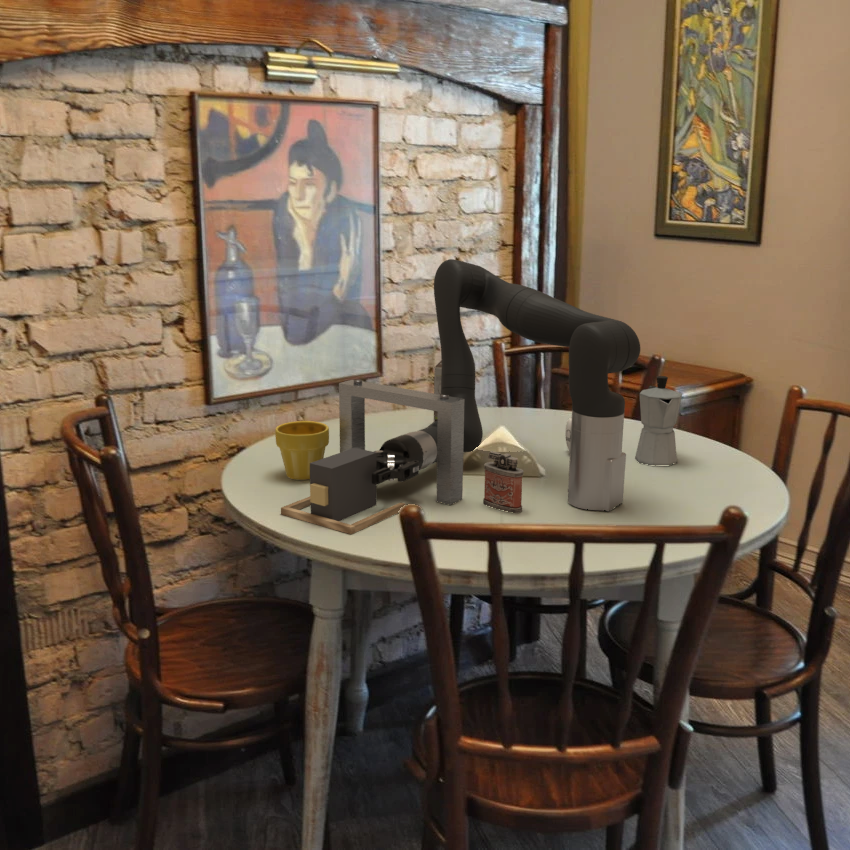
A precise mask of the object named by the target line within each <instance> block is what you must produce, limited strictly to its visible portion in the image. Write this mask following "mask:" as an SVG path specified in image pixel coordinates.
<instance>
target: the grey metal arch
mask: <svg viewBox="0 0 850 850" xmlns="http://www.w3.org/2000/svg"><path fill="white" fill-rule="evenodd" d="M365 399H368V400H373V401H379V402H385V403H388V404H390V403H391V404H394V405H401V406H406V407H409V408H410V407H412V408H416V409H422V410H428V411H431V412H432V411H433V412H434V411H437V412H438V428H437V462H436V502H437V501H438V502H437V503H439V502H442V503H441V504H443V503H445V504H444V505H447V504H449V505H448V506H452V505H453V503H454V504H456V503H458V502H460V501H462V500H463V491H464V490H463V486H464V485H463V483H464V482H463V480H464V479H463V478H464V452H463V444H464V399H462V398H456V397H450V396H449V395H447V394H441V395H439V394H434V392H433V393H432V392H426V391H421V390H414V389H409V388H403V387H398V386H392V385H391V386H390V385H386V384H380V383H375V382H368V381H363V379H349V380H345V381H343V382H339V383H338V402H339V403H338V406H339V407H338V409H339V413H338V414H339V415H338V416H339V418H338V419H339V453H341V452H344V451H347V450H349V449H352V448H359V449H365V450H366V427H365V426H366V423H365V422H366V419H365V418H366V411H365V409H366V408H365V407H366V401H365ZM459 500H460V501H459ZM455 502H456V503H455ZM451 504H452V505H451Z"/></svg>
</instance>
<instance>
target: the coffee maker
mask: <svg viewBox="0 0 850 850" xmlns="http://www.w3.org/2000/svg"><path fill="white" fill-rule="evenodd" d="M668 378H669V377H668V376H664V375H657V376H656V386H655V385H649V386H648V388H647V389H642V390H641V391H640V392H639V406H640V421H641V424H642V425H643V426H642V428H641V430H640V435H639V439H638V442H637V443H638V444H637V448H636V452H635V456H634V459H635V460H636V462H637V461H638V462H639V463H638V462H637V463H638V464H641V463H643V464H642V465H645V464H648V465H647V466H649V465H671V464H673V463H676V462H677V463H678V457H677V456H678V455H677V445H676V444H677V443H676V433H675V431H674V427H675V425H676V423H677V420H678V416H679V411H680V407H681V403H682V397H683V393H682V392H678V391H676V390H672V389H670V388H666V387H667V383H668ZM677 463H676V464H677ZM671 466H672V465H671Z"/></svg>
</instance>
